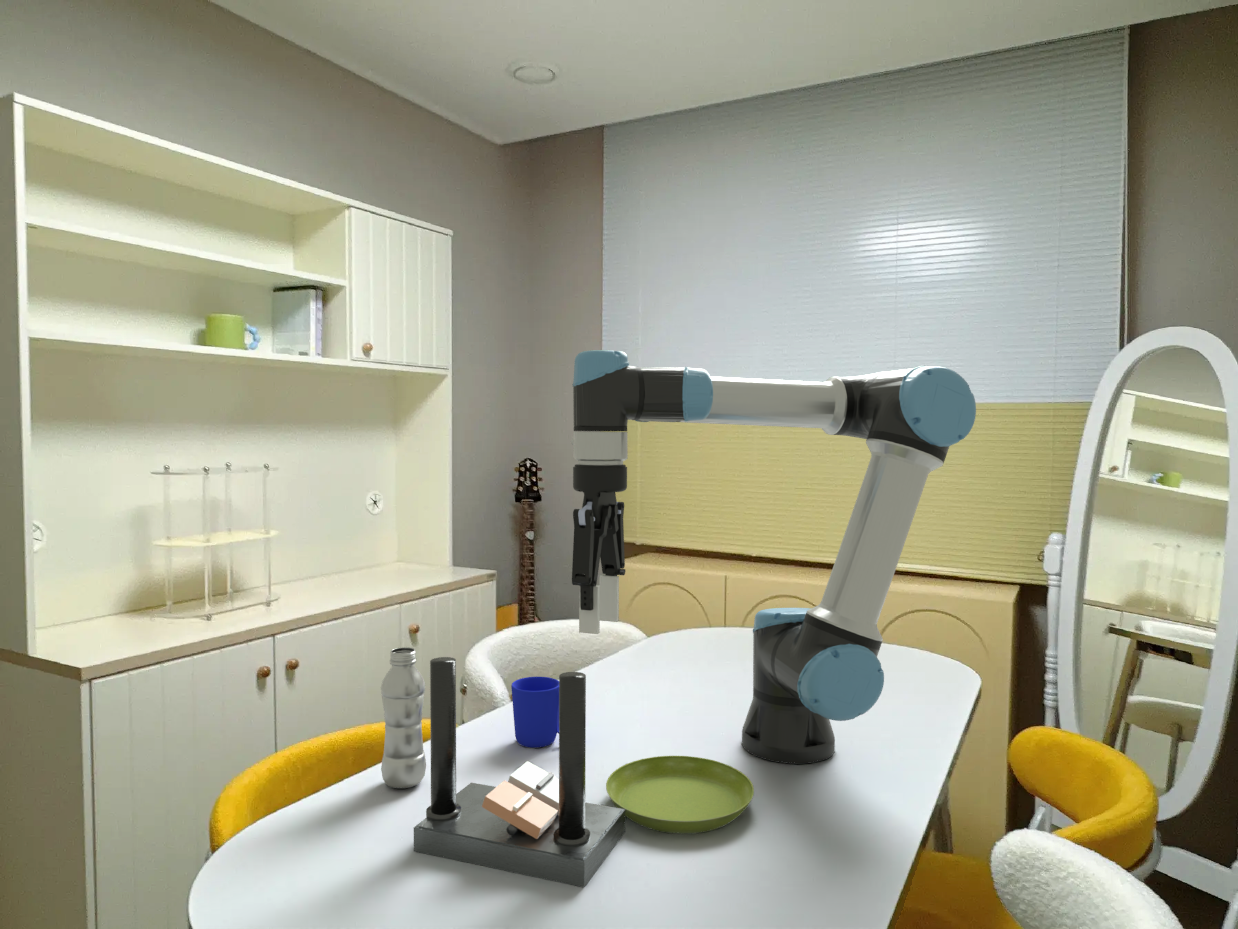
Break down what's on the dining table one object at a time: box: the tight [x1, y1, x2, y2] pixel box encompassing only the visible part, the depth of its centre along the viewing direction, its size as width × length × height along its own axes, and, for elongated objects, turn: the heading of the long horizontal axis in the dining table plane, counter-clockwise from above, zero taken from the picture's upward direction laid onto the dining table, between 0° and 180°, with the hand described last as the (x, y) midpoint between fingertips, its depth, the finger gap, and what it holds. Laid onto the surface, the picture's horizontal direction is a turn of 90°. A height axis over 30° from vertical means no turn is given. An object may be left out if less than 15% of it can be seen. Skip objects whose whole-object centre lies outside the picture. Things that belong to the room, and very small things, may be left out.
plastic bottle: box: [380, 646, 427, 789], centre depth 122 cm, size 6×7×20 cm
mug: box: [510, 676, 559, 749], centre depth 138 cm, size 8×12×10 cm
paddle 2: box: [482, 779, 558, 839], centre depth 103 cm, size 8×5×2 cm, turn 70°
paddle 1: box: [507, 760, 559, 815], centre depth 109 cm, size 8×5×2 cm, turn 70°
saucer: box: [605, 755, 755, 835], centre depth 116 cm, size 21×21×3 cm
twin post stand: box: [413, 656, 626, 888], centre depth 105 cm, size 24×14×23 cm, turn 70°
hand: (599, 626), depth 116 cm, fingers open, 7 cm apart
